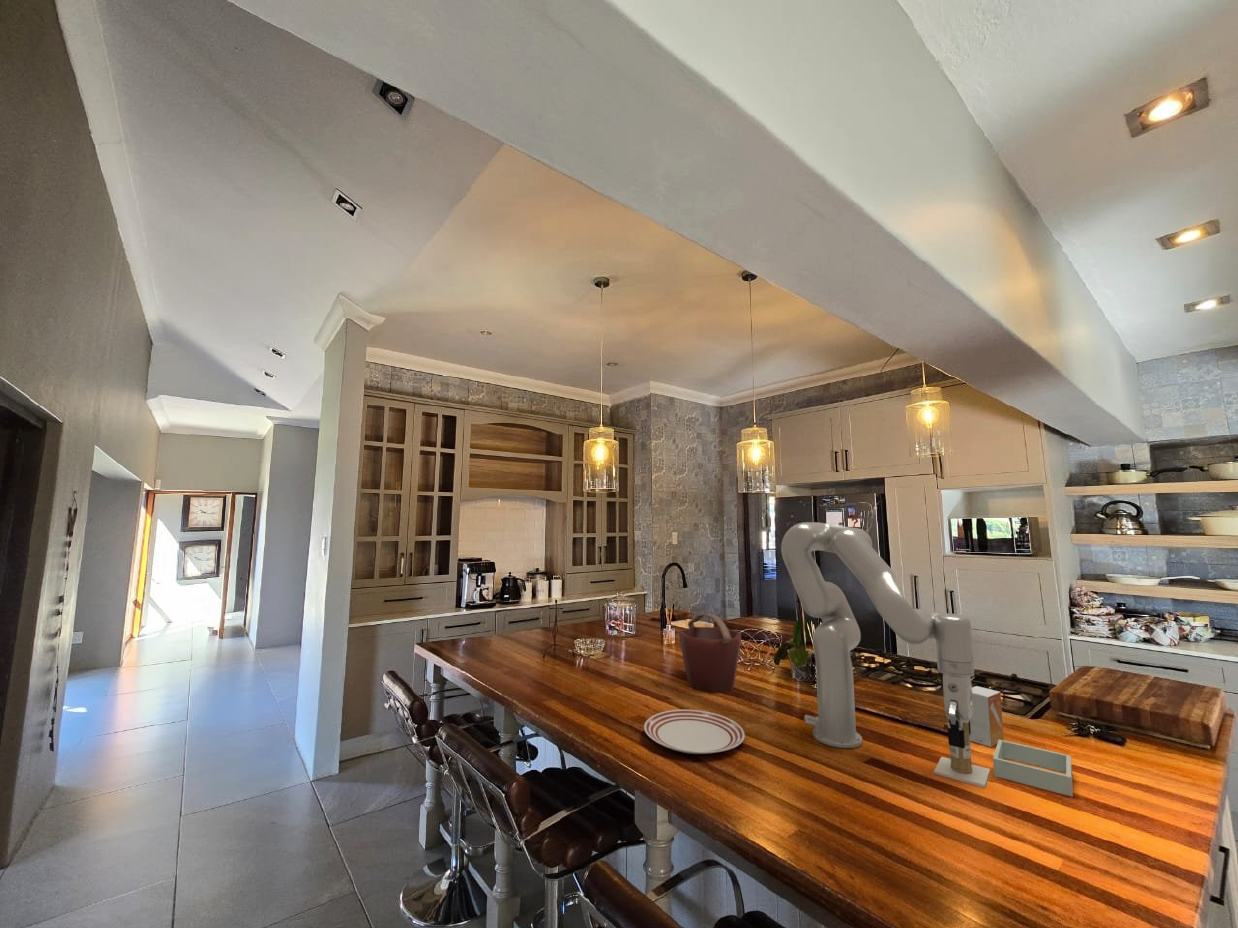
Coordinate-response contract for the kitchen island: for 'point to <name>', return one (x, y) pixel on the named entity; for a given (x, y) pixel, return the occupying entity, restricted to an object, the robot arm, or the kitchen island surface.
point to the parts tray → (1033, 774)
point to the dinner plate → (694, 731)
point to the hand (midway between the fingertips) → (960, 739)
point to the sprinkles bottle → (962, 753)
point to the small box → (986, 717)
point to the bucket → (710, 655)
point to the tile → (975, 777)
